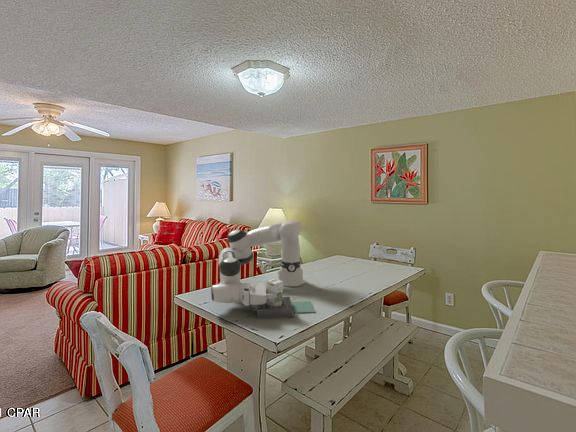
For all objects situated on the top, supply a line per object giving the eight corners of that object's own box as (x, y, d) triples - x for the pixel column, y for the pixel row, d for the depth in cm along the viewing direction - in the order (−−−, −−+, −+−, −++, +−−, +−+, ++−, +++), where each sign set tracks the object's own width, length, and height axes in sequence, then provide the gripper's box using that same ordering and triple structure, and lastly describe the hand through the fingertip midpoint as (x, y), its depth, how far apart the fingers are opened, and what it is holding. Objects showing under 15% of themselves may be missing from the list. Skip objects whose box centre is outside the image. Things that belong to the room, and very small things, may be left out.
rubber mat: (290, 302, 155) (290, 301, 155) (310, 302, 156) (310, 301, 156) (293, 313, 141) (293, 312, 141) (315, 312, 142) (315, 311, 142)
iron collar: (257, 305, 151) (257, 297, 151) (289, 304, 152) (289, 296, 152) (256, 318, 135) (256, 309, 135) (292, 317, 136) (293, 308, 136)
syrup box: (273, 308, 148) (273, 278, 147) (282, 311, 144) (283, 280, 143) (265, 311, 143) (265, 281, 142) (274, 314, 140) (275, 283, 138)
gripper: (247, 292, 152) (275, 291, 154) (245, 307, 132) (277, 306, 133) (247, 279, 152) (275, 279, 153) (245, 293, 132) (277, 292, 133)
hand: (276, 292), depth 143 cm, fingers closed on syrup box, 8 cm apart
